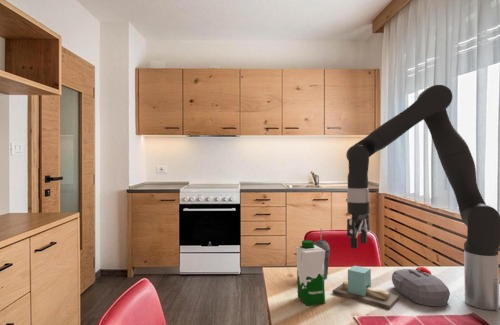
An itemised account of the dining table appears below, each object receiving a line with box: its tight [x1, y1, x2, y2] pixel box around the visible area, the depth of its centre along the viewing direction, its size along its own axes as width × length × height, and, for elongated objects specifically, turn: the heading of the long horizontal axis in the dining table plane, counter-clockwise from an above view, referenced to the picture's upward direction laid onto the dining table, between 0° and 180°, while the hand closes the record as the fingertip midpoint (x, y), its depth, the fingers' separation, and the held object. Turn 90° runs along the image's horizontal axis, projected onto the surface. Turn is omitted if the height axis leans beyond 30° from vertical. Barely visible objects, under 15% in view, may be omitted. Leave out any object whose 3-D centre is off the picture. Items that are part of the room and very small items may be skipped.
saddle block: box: [347, 265, 372, 296], centre depth 116 cm, size 6×6×8 cm
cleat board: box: [332, 281, 400, 310], centre depth 114 cm, size 20×10×3 cm, turn 49°
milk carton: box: [295, 239, 326, 307], centre depth 112 cm, size 9×9×20 cm
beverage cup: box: [313, 228, 331, 281], centre depth 133 cm, size 7×7×20 cm
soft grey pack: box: [391, 268, 451, 307], centre depth 114 cm, size 15×8×20 cm
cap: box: [414, 266, 433, 275], centre depth 128 cm, size 8×6×6 cm
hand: (359, 245), depth 116 cm, fingers open, 8 cm apart
